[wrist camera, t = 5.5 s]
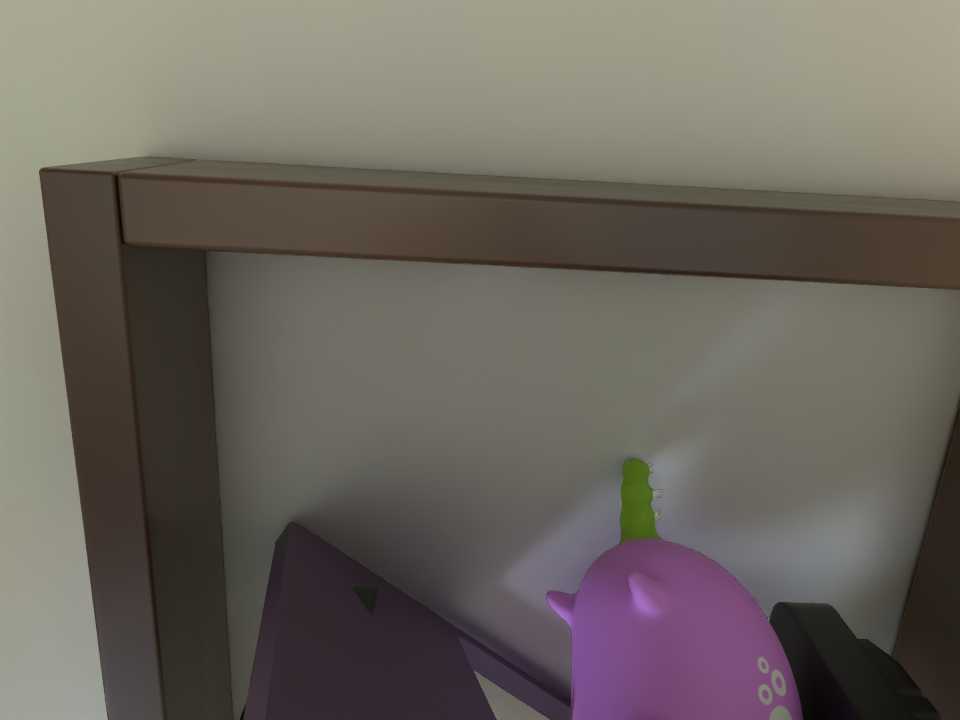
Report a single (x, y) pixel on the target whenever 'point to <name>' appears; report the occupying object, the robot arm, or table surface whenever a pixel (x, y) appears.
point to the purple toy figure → (454, 655)
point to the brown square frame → (401, 237)
